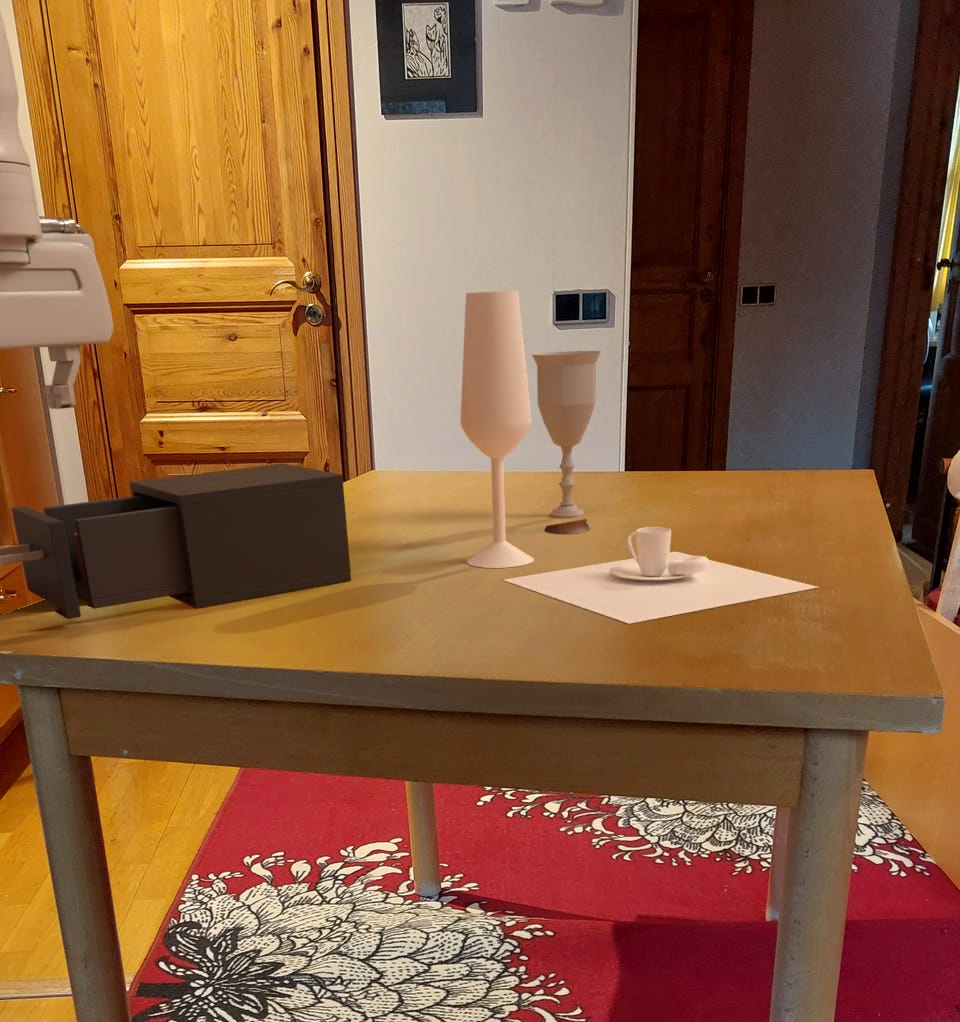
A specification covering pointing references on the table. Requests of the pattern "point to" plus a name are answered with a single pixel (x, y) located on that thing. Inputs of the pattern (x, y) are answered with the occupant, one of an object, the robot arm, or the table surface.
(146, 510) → the dark grey drawer
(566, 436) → the chalice
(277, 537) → the drawer cabinet
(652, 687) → the table surface
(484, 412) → the champagne flute
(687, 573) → the teacup and saucer
